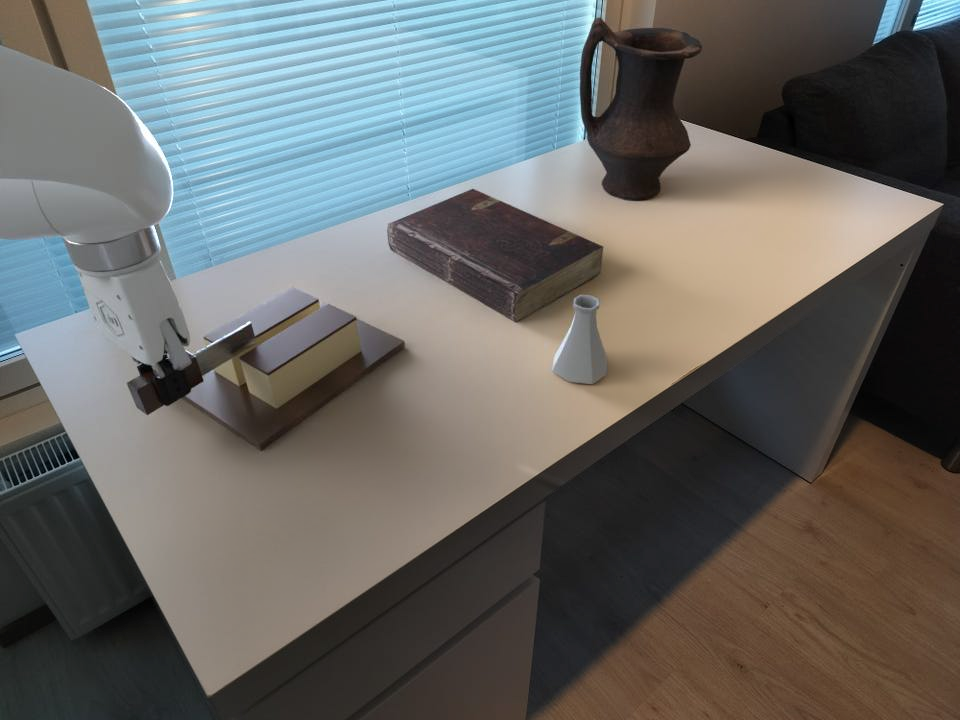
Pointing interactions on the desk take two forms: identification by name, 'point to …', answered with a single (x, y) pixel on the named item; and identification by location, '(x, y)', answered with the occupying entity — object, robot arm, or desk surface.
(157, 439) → the desk surface
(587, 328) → the flask
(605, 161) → the jug
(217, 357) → the knife
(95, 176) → the robot arm
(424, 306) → the desk surface
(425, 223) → the hardback book
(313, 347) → the cake
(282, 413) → the cake board
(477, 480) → the desk surface
